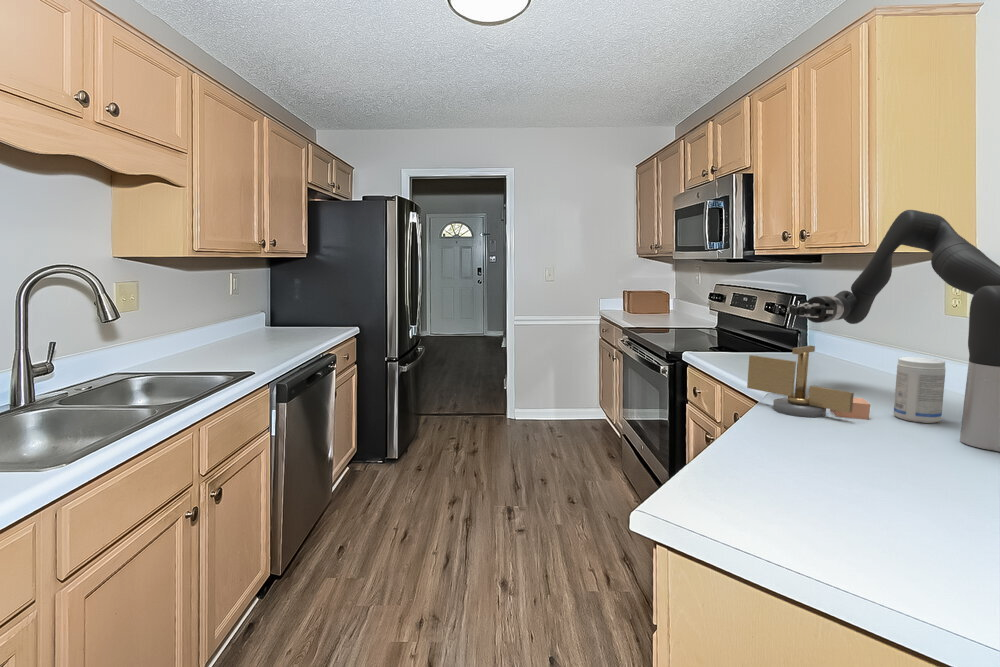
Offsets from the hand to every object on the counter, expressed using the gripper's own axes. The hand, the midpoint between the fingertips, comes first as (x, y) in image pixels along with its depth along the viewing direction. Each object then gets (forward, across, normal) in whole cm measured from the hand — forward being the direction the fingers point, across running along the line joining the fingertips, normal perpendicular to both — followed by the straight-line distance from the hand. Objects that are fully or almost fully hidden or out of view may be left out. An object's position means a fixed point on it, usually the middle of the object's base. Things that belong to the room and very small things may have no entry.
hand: (794, 311), depth 157 cm
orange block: (+3, +17, +25) cm, 30 cm away
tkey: (+10, +7, +22) cm, 25 cm away
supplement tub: (-7, +28, +25) cm, 38 cm away
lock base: (+10, +8, +24) cm, 28 cm away
